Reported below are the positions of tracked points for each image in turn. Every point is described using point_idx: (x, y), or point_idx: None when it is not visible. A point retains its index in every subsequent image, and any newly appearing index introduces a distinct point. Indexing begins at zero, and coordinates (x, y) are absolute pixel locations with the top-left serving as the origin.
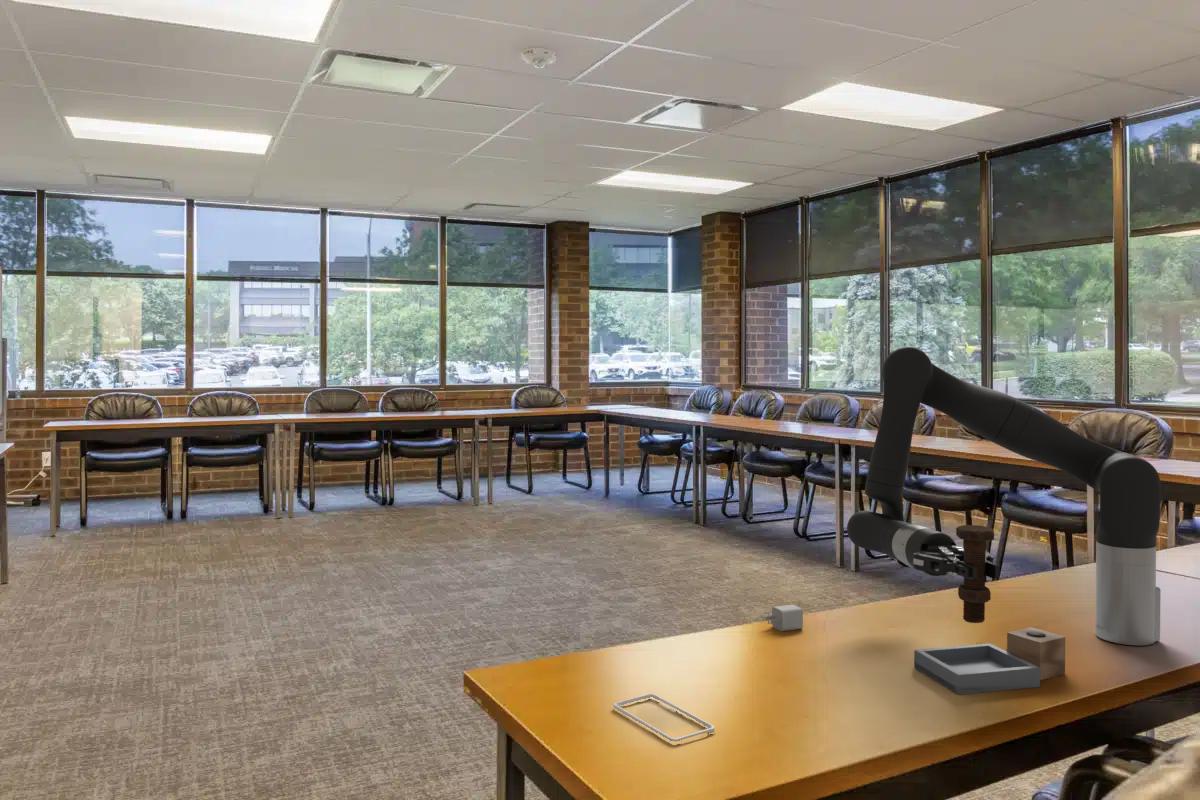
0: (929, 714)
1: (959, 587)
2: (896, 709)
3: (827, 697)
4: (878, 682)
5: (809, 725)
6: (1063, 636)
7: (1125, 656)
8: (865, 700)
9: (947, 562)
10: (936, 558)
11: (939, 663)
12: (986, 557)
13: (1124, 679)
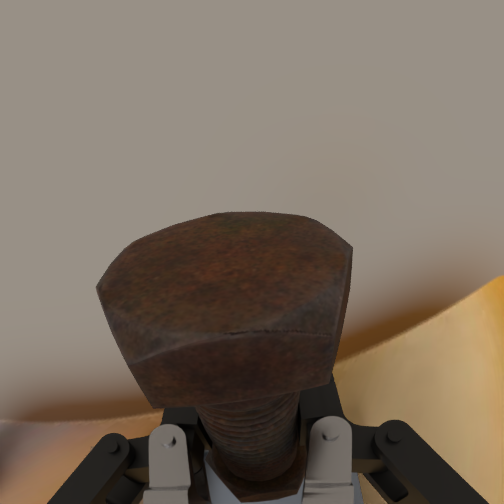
0: (400, 380)
1: (305, 468)
2: (433, 389)
3: (499, 407)
4: None
5: (501, 344)
6: (91, 449)
7: (12, 464)
8: (463, 408)
9: (368, 442)
10: (421, 450)
11: (355, 475)
12: (129, 452)
13: (78, 428)
